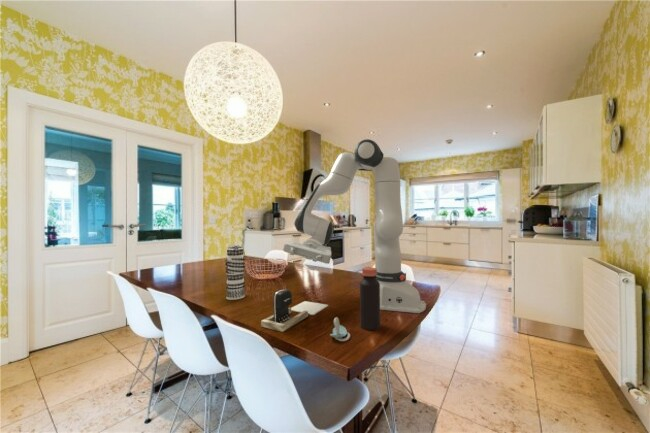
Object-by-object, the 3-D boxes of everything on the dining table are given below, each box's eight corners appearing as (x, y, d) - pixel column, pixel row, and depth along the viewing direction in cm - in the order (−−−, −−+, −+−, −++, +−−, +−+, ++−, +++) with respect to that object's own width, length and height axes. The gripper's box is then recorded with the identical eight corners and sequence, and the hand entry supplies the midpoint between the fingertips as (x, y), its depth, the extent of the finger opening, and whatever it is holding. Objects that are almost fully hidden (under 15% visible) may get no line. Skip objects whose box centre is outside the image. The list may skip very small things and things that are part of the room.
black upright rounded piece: (281, 327, 90) (281, 294, 90) (273, 324, 92) (272, 292, 92) (293, 320, 96) (293, 289, 96) (285, 318, 98) (285, 288, 98)
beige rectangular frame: (307, 316, 100) (307, 311, 100) (282, 331, 86) (282, 325, 86) (288, 312, 104) (288, 307, 104) (261, 326, 91) (261, 320, 91)
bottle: (364, 321, 95) (363, 266, 95) (382, 324, 91) (382, 267, 91) (357, 328, 89) (356, 269, 89) (376, 332, 85) (375, 271, 85)
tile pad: (328, 305, 112) (328, 305, 112) (313, 315, 101) (313, 314, 101) (304, 301, 117) (304, 301, 117) (288, 310, 107) (288, 309, 107)
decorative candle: (249, 294, 129) (248, 244, 130) (238, 300, 120) (238, 246, 121) (232, 293, 131) (232, 244, 132) (221, 299, 122) (221, 246, 123)
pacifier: (352, 334, 85) (334, 331, 86) (352, 314, 85) (334, 312, 86) (347, 344, 78) (328, 341, 79) (348, 323, 78) (328, 321, 79)
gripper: (290, 236, 116) (280, 241, 103) (334, 248, 113) (329, 255, 100) (287, 249, 117) (276, 256, 104) (331, 262, 114) (325, 270, 100)
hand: (303, 256), depth 102 cm, fingers open, 8 cm apart
